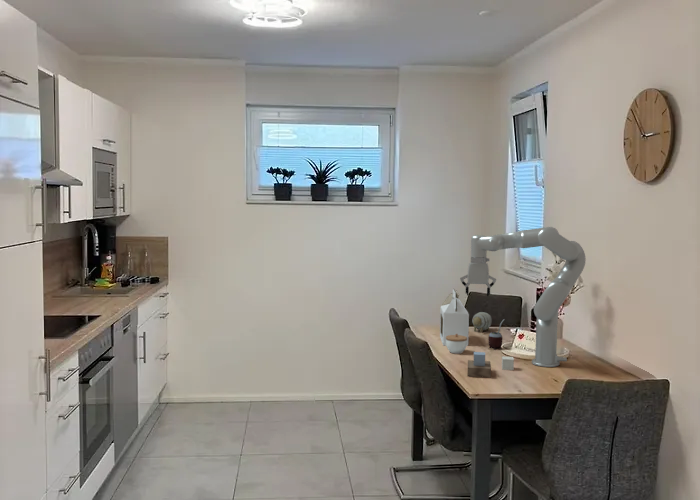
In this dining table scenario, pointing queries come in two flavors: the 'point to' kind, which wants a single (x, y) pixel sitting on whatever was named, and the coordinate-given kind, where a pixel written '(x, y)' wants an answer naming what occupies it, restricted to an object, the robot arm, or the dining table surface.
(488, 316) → the toy sheep
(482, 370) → the walnut base block
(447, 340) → the lidded jar
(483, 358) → the slate blue block
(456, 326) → the gable box
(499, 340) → the mate gourd
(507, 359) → the cream block
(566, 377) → the dining table surface
